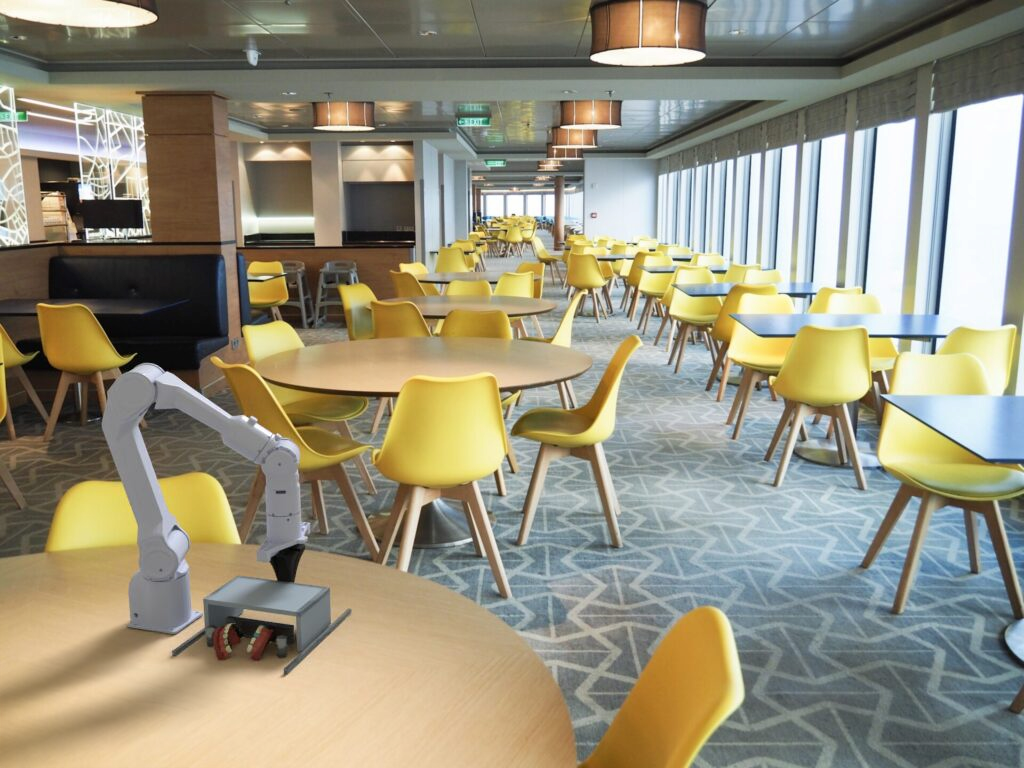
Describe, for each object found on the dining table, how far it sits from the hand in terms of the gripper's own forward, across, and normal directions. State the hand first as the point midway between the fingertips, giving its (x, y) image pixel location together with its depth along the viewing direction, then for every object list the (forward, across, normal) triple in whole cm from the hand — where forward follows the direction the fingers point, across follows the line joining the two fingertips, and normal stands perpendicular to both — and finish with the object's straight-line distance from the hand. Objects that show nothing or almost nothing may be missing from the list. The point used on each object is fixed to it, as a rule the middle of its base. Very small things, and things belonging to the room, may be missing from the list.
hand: (286, 586), depth 150 cm
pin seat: (+5, -7, 0) cm, 9 cm away
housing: (+5, -6, 0) cm, 8 cm away
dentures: (+6, -13, 0) cm, 14 cm away
